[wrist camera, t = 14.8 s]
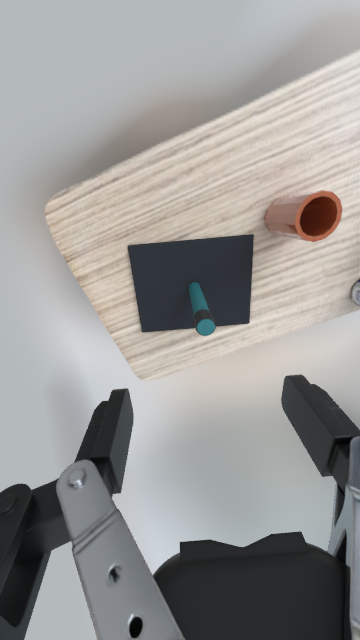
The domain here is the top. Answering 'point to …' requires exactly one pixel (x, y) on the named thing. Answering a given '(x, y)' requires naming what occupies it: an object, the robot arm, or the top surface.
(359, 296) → the energy drink
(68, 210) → the top surface
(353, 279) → the top surface
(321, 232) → the pen pot
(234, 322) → the desk mat
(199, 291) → the marker
